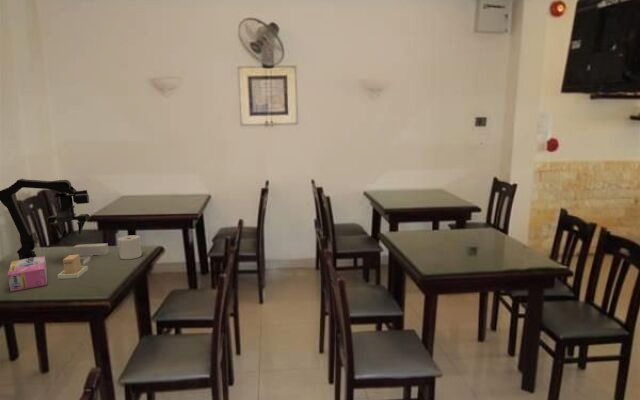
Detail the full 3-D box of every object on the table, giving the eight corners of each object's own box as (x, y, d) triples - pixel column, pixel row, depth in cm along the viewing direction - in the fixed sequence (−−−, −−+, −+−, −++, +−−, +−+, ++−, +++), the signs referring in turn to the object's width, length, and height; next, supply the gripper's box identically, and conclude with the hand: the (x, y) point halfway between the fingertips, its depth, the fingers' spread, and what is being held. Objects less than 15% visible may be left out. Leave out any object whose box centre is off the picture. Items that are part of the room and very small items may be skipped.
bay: (60, 265, 228) (59, 256, 227) (78, 253, 247) (76, 244, 246) (94, 264, 229) (93, 254, 228) (108, 252, 248) (107, 243, 247)
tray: (58, 279, 209) (57, 274, 209) (69, 270, 220) (68, 266, 220) (78, 278, 210) (77, 273, 210) (88, 269, 221) (87, 265, 221)
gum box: (47, 269, 222) (14, 275, 216) (45, 254, 221) (11, 259, 214) (47, 285, 202) (10, 292, 195) (44, 268, 200) (7, 274, 194)
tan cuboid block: (64, 276, 211) (62, 260, 209) (71, 271, 218) (69, 255, 217) (74, 276, 211) (72, 259, 210) (81, 270, 219) (79, 254, 217)
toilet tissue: (137, 259, 235) (135, 240, 233) (113, 260, 235) (111, 241, 233) (145, 253, 245) (143, 234, 243) (122, 253, 245) (120, 235, 243)
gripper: (39, 209, 224) (43, 240, 227) (79, 207, 225) (83, 238, 228) (50, 204, 235) (54, 234, 238) (88, 203, 236) (92, 232, 239)
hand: (70, 234), depth 235 cm, fingers open, 9 cm apart
